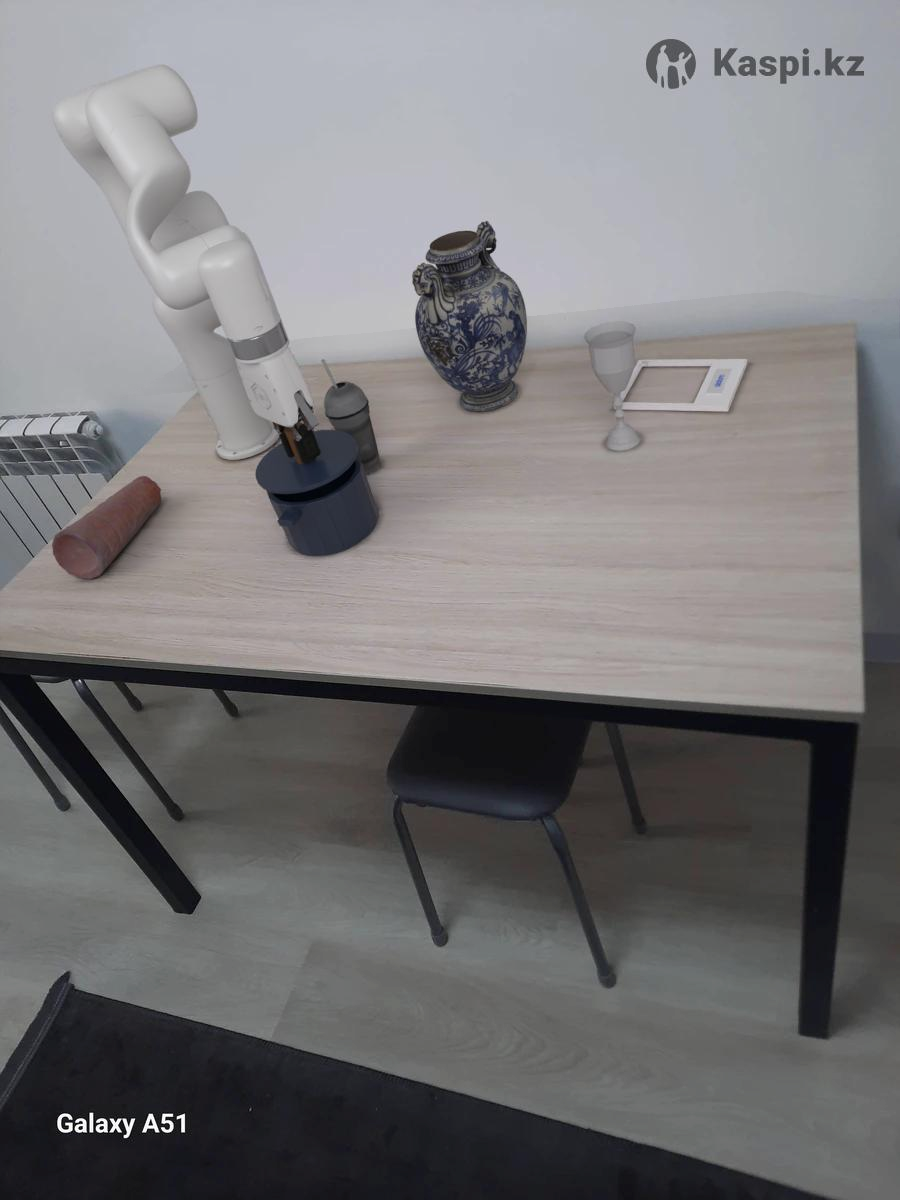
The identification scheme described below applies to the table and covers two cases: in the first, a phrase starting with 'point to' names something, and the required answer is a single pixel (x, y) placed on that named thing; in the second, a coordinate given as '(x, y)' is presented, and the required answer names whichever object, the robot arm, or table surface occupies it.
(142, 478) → the food
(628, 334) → the chalice
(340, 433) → the lid
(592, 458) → the table surface
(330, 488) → the pot
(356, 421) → the beverage cup
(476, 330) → the decorative vase
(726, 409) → the photo frame
